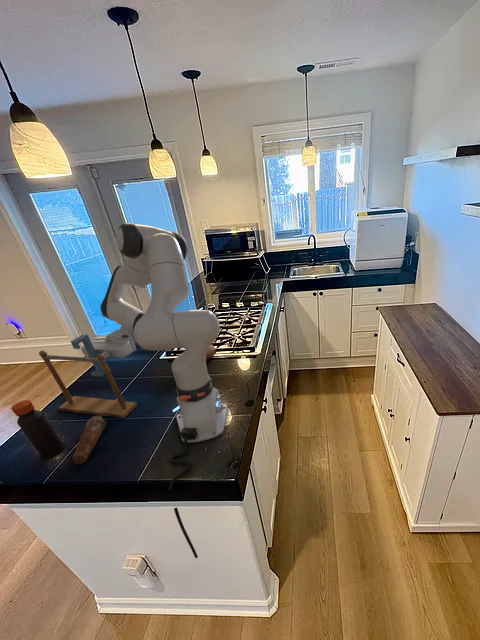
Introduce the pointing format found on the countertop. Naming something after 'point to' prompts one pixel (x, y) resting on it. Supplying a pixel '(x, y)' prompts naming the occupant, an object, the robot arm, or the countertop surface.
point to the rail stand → (85, 403)
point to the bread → (88, 439)
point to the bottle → (37, 429)
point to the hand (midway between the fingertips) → (92, 358)
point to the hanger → (89, 353)
